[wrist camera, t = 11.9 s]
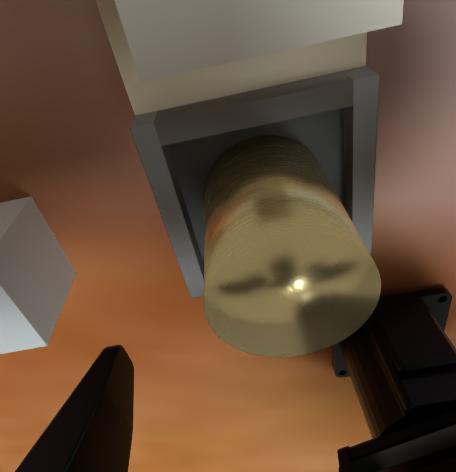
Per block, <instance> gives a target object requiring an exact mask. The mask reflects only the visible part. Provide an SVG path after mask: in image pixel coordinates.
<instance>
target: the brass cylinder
mask: <svg viewBox="0 0 456 472" xmlns="http://www.w3.org/2000/svg"><path fill="white" fill-rule="evenodd" d="M380 292H381V278H380V273H379V271H378V268H377V266H376V264H375V262H374V260H373V259H372V257H371V255H370V253H369V251H368V250H367V248H366V246H365V244H364V242H363V240H362V239H361V237H360V235H359V233H358V231H357V230H356V228H355V226H354V224H353V222H352V221H351V219H350V217H349V215H348V213H347V212H346V210H345V208H344V206H343V204H342V203H341V201H340V199H339V197H338V195H337V194H336V192H335V190H334V188H333V186H332V185H331V183H330V181H329V179H328V177H327V176H326V174H325V172H324V170H323V168H322V167H321V165H320V163H319V161H318V160H317V158H316V157H315V155H314V154H313V153H312V152H311V151H310V150H309V149H308V148H307V147H305V146H304V145H302V144H301V143H299V142H297V141H295V140H292V139H290V138H286V137H282V136H275V135H264V136H256V137H252V138H249V139H246V140H243V141H241V142H239V143H237V144H235V145H233V146H232V147H230V148H229V149H227V150H226V151H225V152H224V153H223V154H222V155H221V156H220V157H219V158H218V159H217V160H216V161H215V163H214V164H213V166H212V167H211V169H210V171H209V174H208V176H207V179H206V183H205V211H204V310H205V315H206V318H207V321H208V323H209V325H210V327H211V328H212V329H213V331H214V332H215V333H216V334H217V335H218V336H219V337H220V338H221V339H222V340H223V341H225V342H226V343H228V344H229V345H231V346H232V347H234V348H237V349H239V350H241V351H244V352H247V353H250V354H255V355H259V356H267V357H292V356H300V355H305V354H310V353H313V352H317V351H320V350H323V349H325V348H328V347H330V346H333V345H335V344H337V343H339V342H340V341H342V340H344V339H346V338H347V337H349V336H350V335H351V334H353V333H354V332H355V331H357V330H358V329H359V328H360V327H361V326H362V325H363V324H364V323H365V322H366V321H367V320H368V318H369V317H370V316H371V314H372V313H373V311H374V309H375V307H376V306H377V303H378V300H379V298H380Z"/></svg>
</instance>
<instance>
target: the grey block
mask: <svg viewBox="0 0 456 472" xmlns="http://www.w3.org/2000/svg"><path fill="white" fill-rule="evenodd" d="M76 273H77V272H76V271H75V269H74V267H73V266H72V264H71V262H70V261H69V259H68V257H67V256H66V254H65V252H64V251H63V249H62V247H61V245H60V244H59V242H58V240H57V239H56V237H55V235H54V234H53V232H52V230H51V229H50V227H49V225H48V224H47V222H46V220H45V218H44V217H43V215H42V213H41V212H40V210H39V208H38V207H37V205H36V203H35V202H34V200H33V198H32V197H31V196H30V197H26V198H21V199H16V200H11V201H6V202H1V203H0V354H3V353H9V352H15V351H20V350H26V349H32V348H37V347H43V346H47V345H48V343H49V340H50V338H51V335H52V333H53V330H54V328H55V325H56V323H57V320H58V318H59V315H60V313H61V310H62V308H63V305H64V303H65V300H66V298H67V295H68V293H69V290H70V288H71V285H72V283H73V280H74V278H75V275H76Z"/></svg>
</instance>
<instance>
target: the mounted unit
mask: <svg viewBox="0 0 456 472" xmlns="http://www.w3.org/2000/svg"><path fill="white" fill-rule="evenodd" d="M95 2H96V4H97V7H98V10H99V13H100V16H101V19H102V22H103V25H104V28H105V31H106V33H107V36H108V39H109V42H110V45H111V48H112V51H113V54H114V57H115V59H116V62H117V65H118V68H119V71H120V74H121V77H122V80H123V83H124V85H125V88H126V91H127V94H128V97H129V100H130V103H131V106H132V109H133V112H134V114H135V117H134V119H133V121H132V124H131V126H130V130H131V133H132V136H133V139H134V142H135V144H136V147H137V150H138V153H139V155H140V158H141V161H142V164H143V166H144V169H145V172H146V175H147V177H148V180H149V183H150V186H151V189H152V191H153V194H154V197H155V200H156V202H157V205H158V208H159V211H160V213H161V216H162V219H163V222H164V225H165V227H166V230H167V233H168V236H169V238H170V241H171V244H172V247H173V249H174V252H175V255H176V258H177V260H178V263H179V266H180V269H181V272H182V274H183V277H184V280H185V283H186V285H187V288H188V291H189V294H190V296H191V298H196V297H201V296H204V211H205V183H206V179H207V176H208V174H209V171H210V169H211V167H212V166H213V164H214V163H215V161H216V160H217V159H218V158H219V157H220V156H221V155H222V154H223V153H224V152H225V151H226V150H227V149H229V148H230V147H232V146H233V145H235V144H237V143H239V142H241V141H243V140H246V139H249V138H252V137H256V136H264V135H275V136H282V137H286V138H290V139H292V140H295V141H297V142H299V143H301V144H302V145H304V146H305V147H307V148H308V149H309V150H310V151H311V152H312V153H313V154H314V155H315V157H316V158H317V160H318V161H319V163H320V165H321V167H322V168H323V170H324V172H325V174H326V176H327V177H328V179H329V181H330V183H331V185H332V186H333V188H334V190H335V192H336V194H337V195H338V197H339V199H340V201H341V203H342V204H343V206H344V208H345V210H346V212H347V213H348V215H349V217H350V219H351V221H352V222H353V224H354V226H355V228H356V230H357V231H358V233H359V235H360V237H361V239H362V240H363V242H364V244H365V246H366V248H367V250H368V251H369V253H370V255H371V247H372V226H373V205H374V184H375V163H376V142H377V121H378V100H379V79H380V74H378V73H376V72H375V71H373V70H372V69H370V68H369V67H367V66H366V44H367V32H370V31H375V30H379V29H384V28H388V27H393V26H397V25H402V17H403V4H404V0H95Z"/></svg>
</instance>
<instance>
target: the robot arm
mask: <svg viewBox="0 0 456 472" xmlns="http://www.w3.org/2000/svg"><path fill="white" fill-rule="evenodd" d="M451 300H452V295H451V294H450V292H449V291H448V290H447V289H446V288H437V289H431V290H425V291H419V292H414V293H408V294H402V295H396V296H391V297H385V298H379V300H378V303H377V306H376V307H375V309H374V311H373V313H372V314H371V316H370V317H369V318H368V320H367V321H366V322H365V323H364V324H363V325H362V326H361V327H360V328H359V329H358V330H357V331H355V332H354V333H353V334H351V335H350V336H349V337H347V338H346V339H344V340H342V341H340V342H339V343H337V344H335V345H333V346H332V348H333V369H334V372H335V375H336V376H337V377H347V376H350V377H351V380H352V382H353V385H354V388H355V391H356V393H357V396H358V399H359V402H360V405H361V407H362V410H363V413H364V416H365V419H366V421H367V424H368V427H369V430H370V433H371V435H372V438H373V439H371V440H368V441H366V442H363V443H360V444H358V445H355V446H352V447H348V446H346V447H344V448H341V449H338V459H339V472H456V349H455V347H454V346H453V344H452V343H451V341H450V340H449V338H448V337H447V335H446V334H445V332H444V329H445V325H446V321H447V317H448V312H449V308H450V304H451ZM133 399H134V367H133V363H132V361H131V359H130V358H129V356H128V354H127V353H126V351H125V349H124V348H123V346H121V345H114V346H109V347H106V348H105V349H103V351H102V352H101V353H100V355H99V356H98V358H97V359H96V360H95V362H94V363H93V364H92V366H91V367H90V369H89V370H88V371H87V373H86V374H85V376H84V377H83V378H82V380H81V381H80V382H79V384H78V385H77V387H76V388H75V389H74V391H73V392H72V394H71V395H70V396H69V398H68V399H67V400H66V402H65V403H64V405H63V406H62V407H61V409H60V410H59V411H58V413H57V414H56V416H55V417H54V418H53V420H52V421H51V423H50V424H49V425H48V427H47V428H46V429H45V431H44V432H43V434H42V435H41V436H40V438H39V439H38V441H37V442H36V443H35V445H34V446H33V447H32V449H31V450H30V452H29V453H28V454H27V456H26V457H25V458H24V460H23V461H22V463H21V464H20V465H19V467H18V468H17V470H16V471H15V472H128V465H129V458H130V450H131V442H132V432H133Z"/></svg>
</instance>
